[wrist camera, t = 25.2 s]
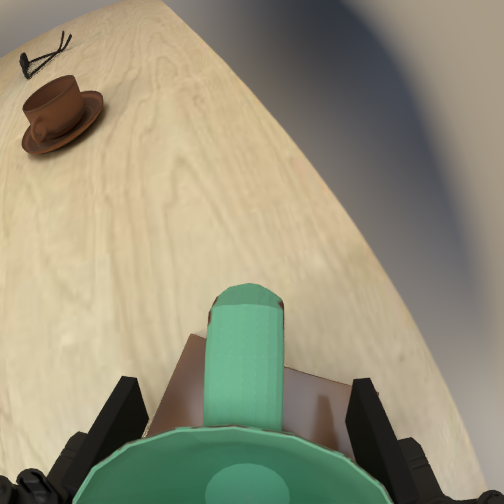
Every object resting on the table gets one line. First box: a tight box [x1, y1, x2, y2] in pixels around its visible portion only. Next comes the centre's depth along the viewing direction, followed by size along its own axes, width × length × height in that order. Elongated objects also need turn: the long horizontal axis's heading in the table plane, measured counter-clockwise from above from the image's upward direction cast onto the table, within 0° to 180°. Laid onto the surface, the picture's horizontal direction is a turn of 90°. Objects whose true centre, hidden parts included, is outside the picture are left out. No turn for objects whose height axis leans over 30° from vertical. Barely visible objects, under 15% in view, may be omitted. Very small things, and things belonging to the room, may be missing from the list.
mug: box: [72, 283, 394, 504], centre depth 10 cm, size 15×10×10 cm
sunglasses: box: [19, 31, 72, 79], centre depth 49 cm, size 17×14×5 cm
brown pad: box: [146, 334, 379, 463], centre depth 15 cm, size 12×12×1 cm
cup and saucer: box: [22, 75, 103, 154], centre depth 29 cm, size 12×12×6 cm
